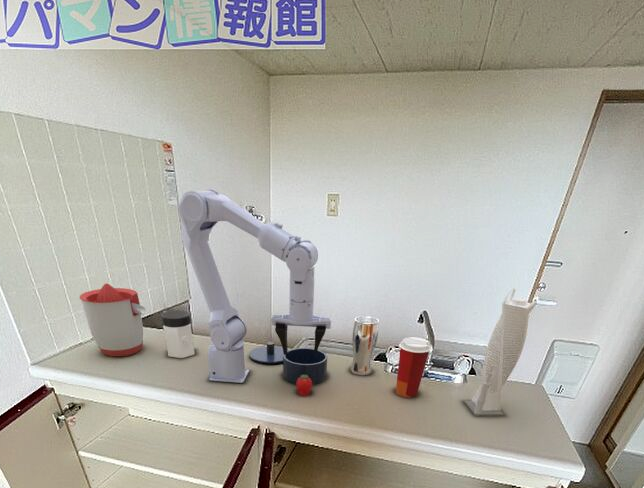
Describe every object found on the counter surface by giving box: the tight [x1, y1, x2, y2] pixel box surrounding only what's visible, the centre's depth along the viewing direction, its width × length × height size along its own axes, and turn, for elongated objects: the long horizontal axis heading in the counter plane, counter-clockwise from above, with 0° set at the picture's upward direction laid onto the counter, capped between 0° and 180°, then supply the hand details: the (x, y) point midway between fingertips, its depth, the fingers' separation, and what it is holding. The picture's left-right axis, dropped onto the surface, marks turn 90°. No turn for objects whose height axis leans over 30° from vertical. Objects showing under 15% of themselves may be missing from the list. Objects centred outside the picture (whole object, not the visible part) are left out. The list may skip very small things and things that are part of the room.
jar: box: [161, 310, 195, 359], centre depth 122 cm, size 9×8×12 cm
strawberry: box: [295, 375, 313, 396], centre depth 105 cm, size 4×4×5 cm
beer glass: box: [350, 315, 380, 376], centre depth 114 cm, size 7×7×15 cm
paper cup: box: [395, 336, 432, 398], centre depth 103 cm, size 8×8×14 cm
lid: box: [248, 341, 290, 364], centre depth 124 cm, size 13×13×4 cm
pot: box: [282, 347, 328, 386], centre depth 113 cm, size 12×12×6 cm
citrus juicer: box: [79, 282, 147, 357], centre depth 121 cm, size 16×17×20 cm
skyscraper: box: [463, 287, 537, 417], centre depth 94 cm, size 8×8×28 cm
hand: (300, 354), depth 103 cm, fingers open, 7 cm apart
